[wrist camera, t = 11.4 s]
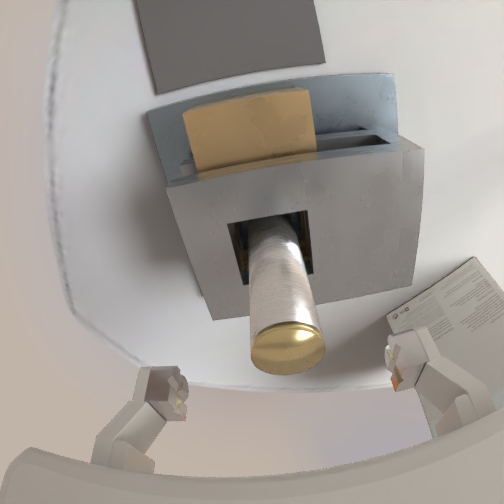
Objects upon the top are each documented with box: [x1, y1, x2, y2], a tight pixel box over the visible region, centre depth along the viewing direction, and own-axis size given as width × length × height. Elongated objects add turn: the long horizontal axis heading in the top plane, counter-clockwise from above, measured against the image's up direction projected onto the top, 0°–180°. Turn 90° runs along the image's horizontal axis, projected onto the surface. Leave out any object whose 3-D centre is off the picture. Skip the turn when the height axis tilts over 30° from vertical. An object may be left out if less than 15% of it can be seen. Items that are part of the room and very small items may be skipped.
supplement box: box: [386, 257, 504, 439], centre depth 26 cm, size 13×13×18 cm
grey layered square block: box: [147, 73, 424, 320], centre depth 21 cm, size 18×18×8 cm
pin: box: [248, 213, 325, 375], centre depth 18 cm, size 3×3×14 cm
